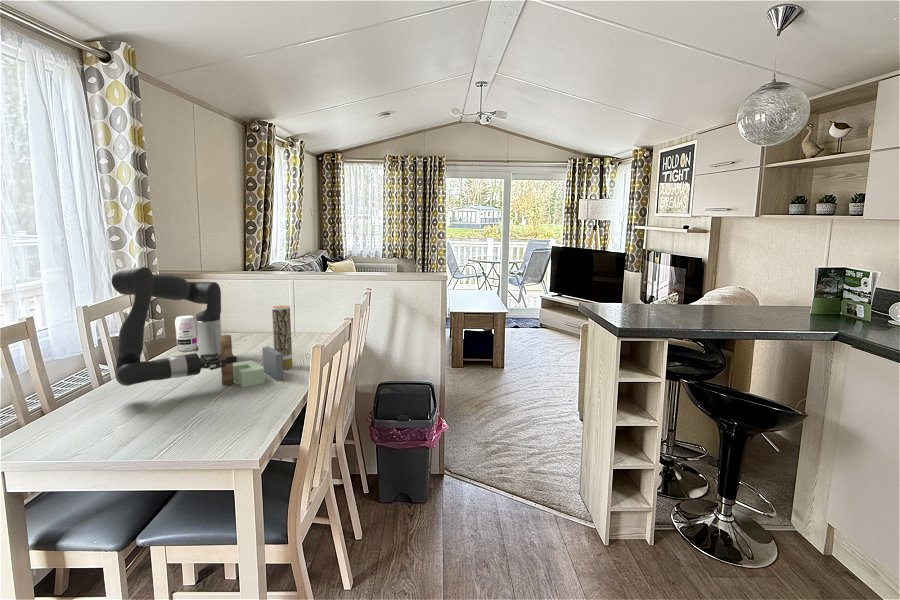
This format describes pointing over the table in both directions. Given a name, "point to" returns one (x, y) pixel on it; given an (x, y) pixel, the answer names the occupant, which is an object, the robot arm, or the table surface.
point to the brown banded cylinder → (225, 352)
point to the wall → (273, 363)
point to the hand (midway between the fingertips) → (234, 357)
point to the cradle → (248, 373)
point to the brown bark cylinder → (282, 333)
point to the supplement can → (186, 333)
